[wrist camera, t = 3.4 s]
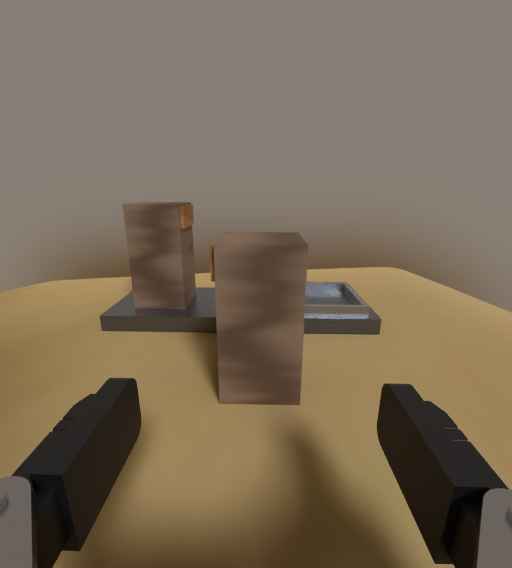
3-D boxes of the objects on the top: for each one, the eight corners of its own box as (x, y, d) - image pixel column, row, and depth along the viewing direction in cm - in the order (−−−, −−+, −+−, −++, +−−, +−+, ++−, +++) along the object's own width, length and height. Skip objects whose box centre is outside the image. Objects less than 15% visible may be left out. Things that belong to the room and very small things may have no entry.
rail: (101, 330, 29) (98, 305, 28) (139, 298, 37) (136, 279, 37) (379, 334, 28) (382, 308, 28) (352, 300, 37) (354, 281, 36)
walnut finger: (214, 403, 19) (207, 244, 16) (224, 361, 24) (220, 232, 21) (299, 404, 19) (308, 244, 16) (292, 361, 24) (297, 232, 21)
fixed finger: (135, 308, 30) (122, 204, 27) (152, 292, 35) (143, 202, 32) (188, 308, 30) (181, 204, 27) (198, 292, 35) (193, 202, 32)
